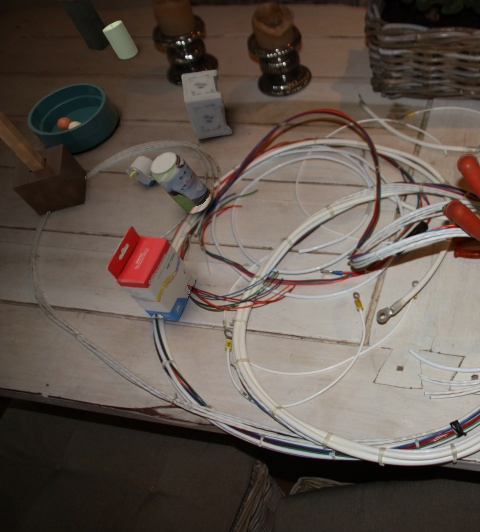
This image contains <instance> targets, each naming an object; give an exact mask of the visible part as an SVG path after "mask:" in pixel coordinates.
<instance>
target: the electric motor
mask: <svg viewBox="0 0 480 532" xmlns="http://www.w3.org/2000/svg"><path fill="white" fill-rule="evenodd" d="M153 161H154V160H152V159H150V158H149V157H147V156H144V155H138V156H137V157H136V159H135V160H134V161H133V162H132V163H131V164H130V166H129V167H128V169H125V170H124V172H125V173H126V174H127V175H129V178H130V179H132V180H133V179H135V180H137V181H139V184H140V185H143V186H148V187H151V186H152V185H153V183H155V182H156V180H155V179H154V178H153V176H152V171H151V164H152V162H153Z"/></svg>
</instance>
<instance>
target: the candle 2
mask: <svg viewBox="0 0 480 532" xmlns="http://www.w3.org/2000/svg"><path fill="white" fill-rule="evenodd" d="M103 32H104V34H105V36H106V37H107V39H108V41H109V42H110V43H109V44H110V46H111V48H112V50H113V51H114V52H115V54H116V55H117V58H118V59H120V60H130V59H132V58H134V57H136V55H138V53H139V50H138V47H137V45H136V44H135V42H134V40H133V39H132V37H131V35H130V32H129V31H128V29H127V28H126V26H125V24H124V23H123V21H122V20H116V21H114V22H112V23H110V24H108V25H107V26H106V28H104V30H103Z"/></svg>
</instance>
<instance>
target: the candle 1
mask: <svg viewBox="0 0 480 532" xmlns="http://www.w3.org/2000/svg"><path fill="white" fill-rule="evenodd" d="M58 1H59V4H60V5H61V6H62V8H63V9H64V11H65V13H66V14H67V15H68V17H69V19H70V21H71V22H72V23H73V25H74V27H75V28H76V29H77V31H78V33H79V34H80V36H81V38H82V39H83V41H84V43H85V44H86V45H87V47H88V48H89V49H91V50H99V51H101V50H105V49H106V48H107V46H108V45H109V44H110V42H109V41H108V39H107V37H106V36H105V34H104V32H103V30H104V28H106V27H107V26H106V24H105V23H104V22H103V20H102V18H101V16H100V14H99V13H98V11H97V10H96V8H95V6H94V5H93V3H92V1H91V0H58Z"/></svg>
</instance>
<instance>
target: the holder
mask: <svg viewBox="0 0 480 532" xmlns="http://www.w3.org/2000/svg"><path fill="white" fill-rule="evenodd" d="M36 151H37V152H38V153H39V155H40V156H41V157H42V158H43V159H44V160H45V161H46V164H45V169H41V170H37V171H34V172H32V171H31V170H30V168H29V167H28V166H27V165H26V164H25V163H24V162H23V161H22V160H21V159H20V158H19V157H18V156H17V155H16V161H15V167H14V172H13V178H12V184H11V189H12V190H13V191H14V192H15V193H16V194H17V195H18V196H19V197H20V198H21V199H22V200H23V201H24V202H25V203H26V204H27V205H28V206H29V207H30V208H31V209H32V210H34V212H35V213H37V215H39V216H43V215H47V214H46V213H47V212H49V211H50V212H51V213H55V212H58V211H62V210H65V209H69V208H73V207H76V206H79V205H83V204H85V203H86V191H87V190H86V188H87V178H86V179H85V176H86V177H87V171H86V170H85V169H84V168H83V166H81V165H82V164H80V163H79V162H78V160H77V159H76V158H75V157H74V155H73V153H70V152H69V151H68V150H67V148H66V147H65V146H64V145H63V144H61V145H57V146H54V147H50V148H47V147H45V148H43V149H39V150H36Z"/></svg>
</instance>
